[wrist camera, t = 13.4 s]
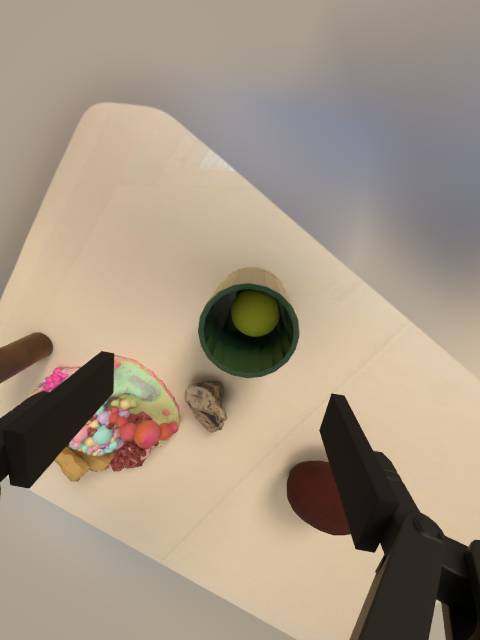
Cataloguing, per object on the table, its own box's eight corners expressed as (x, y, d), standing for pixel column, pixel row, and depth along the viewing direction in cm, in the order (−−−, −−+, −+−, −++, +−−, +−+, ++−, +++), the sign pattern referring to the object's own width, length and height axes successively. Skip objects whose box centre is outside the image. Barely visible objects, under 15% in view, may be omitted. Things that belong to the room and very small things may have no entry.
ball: (232, 279, 39) (239, 290, 33) (277, 286, 40) (292, 298, 34) (225, 323, 41) (230, 342, 35) (268, 328, 42) (280, 347, 36)
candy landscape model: (124, 482, 55) (99, 530, 46) (22, 415, 51) (-27, 453, 43) (199, 406, 48) (186, 445, 39) (87, 322, 44) (45, 344, 36)
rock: (253, 418, 46) (234, 402, 38) (222, 450, 45) (196, 440, 37) (223, 384, 51) (201, 363, 43) (194, 412, 50) (166, 396, 42)
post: (26, 330, 46) (-35, 356, 36) (52, 335, 46) (-2, 362, 36) (28, 353, 47) (-30, 384, 38) (53, 358, 47) (1, 390, 37)
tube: (222, 261, 40) (205, 274, 28) (294, 274, 40) (310, 294, 27) (211, 329, 43) (193, 367, 31) (278, 341, 43) (286, 385, 31)
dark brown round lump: (299, 433, 48) (309, 485, 39) (364, 460, 49) (390, 517, 39) (272, 476, 52) (275, 533, 42) (333, 500, 53) (351, 562, 43)
